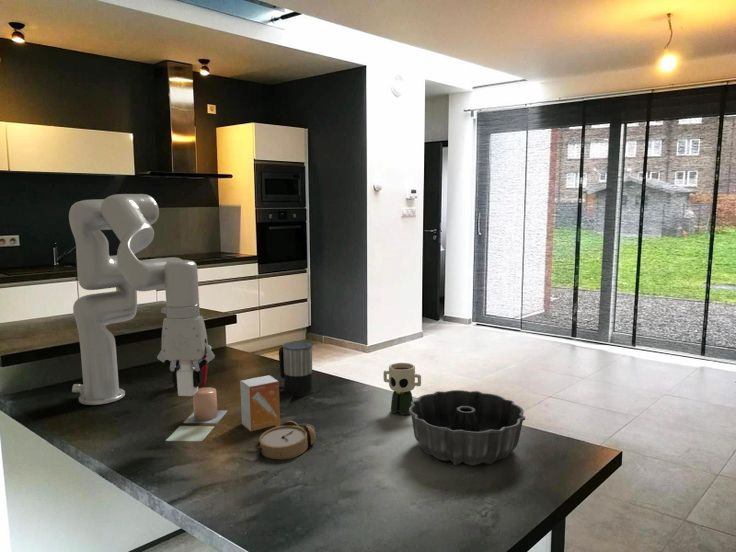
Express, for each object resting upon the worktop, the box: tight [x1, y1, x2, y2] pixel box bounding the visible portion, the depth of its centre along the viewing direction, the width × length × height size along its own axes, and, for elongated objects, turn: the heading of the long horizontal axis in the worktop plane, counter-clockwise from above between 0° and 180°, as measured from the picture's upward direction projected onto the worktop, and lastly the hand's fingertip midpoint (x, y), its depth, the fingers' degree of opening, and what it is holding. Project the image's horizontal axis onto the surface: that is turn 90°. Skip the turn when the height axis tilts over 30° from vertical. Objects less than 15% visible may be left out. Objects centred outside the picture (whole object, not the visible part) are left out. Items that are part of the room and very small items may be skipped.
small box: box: [239, 375, 281, 432], centre depth 148 cm, size 8×6×13 cm
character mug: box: [383, 362, 422, 415], centre depth 158 cm, size 11×7×13 cm, turn 66°
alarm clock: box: [255, 420, 318, 460], centre depth 138 cm, size 11×5×15 cm
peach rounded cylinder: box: [192, 386, 218, 421], centre depth 154 cm, size 6×6×7 cm
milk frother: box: [278, 340, 315, 397], centre depth 175 cm, size 14×16×15 cm
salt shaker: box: [176, 360, 199, 397], centre depth 141 cm, size 4×4×10 cm
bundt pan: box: [409, 389, 526, 466], centre depth 135 cm, size 26×26×10 cm
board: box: [165, 409, 228, 442], centre depth 149 cm, size 14×22×2 cm, turn 176°
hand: (187, 384), depth 142 cm, fingers closed on salt shaker, 4 cm apart
